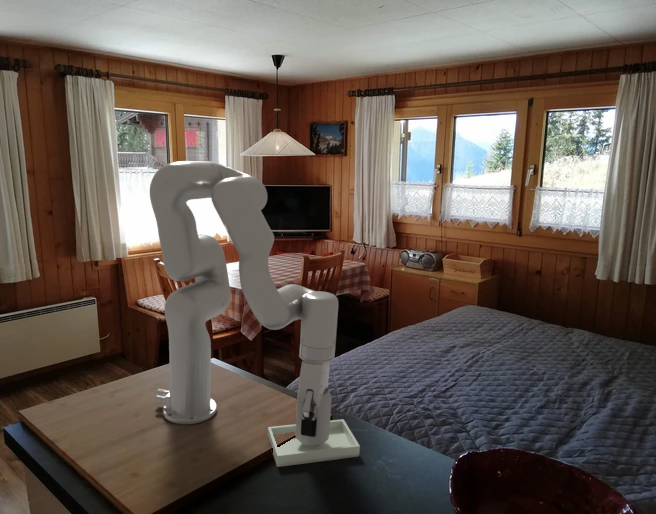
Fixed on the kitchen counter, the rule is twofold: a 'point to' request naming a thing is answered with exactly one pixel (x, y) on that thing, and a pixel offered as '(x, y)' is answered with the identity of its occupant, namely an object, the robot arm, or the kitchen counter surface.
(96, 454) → the kitchen counter surface
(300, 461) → the tray
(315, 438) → the can
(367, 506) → the kitchen counter surface
